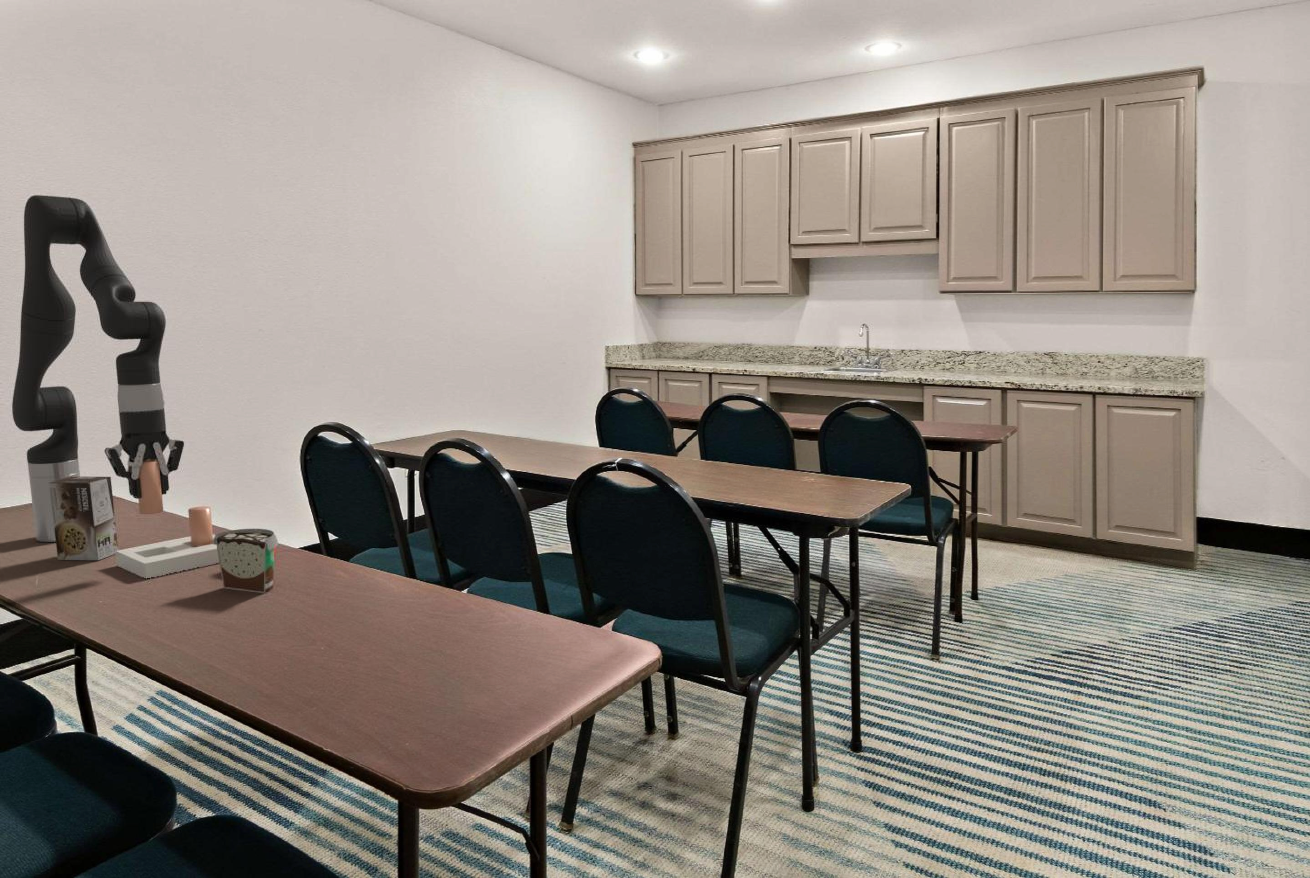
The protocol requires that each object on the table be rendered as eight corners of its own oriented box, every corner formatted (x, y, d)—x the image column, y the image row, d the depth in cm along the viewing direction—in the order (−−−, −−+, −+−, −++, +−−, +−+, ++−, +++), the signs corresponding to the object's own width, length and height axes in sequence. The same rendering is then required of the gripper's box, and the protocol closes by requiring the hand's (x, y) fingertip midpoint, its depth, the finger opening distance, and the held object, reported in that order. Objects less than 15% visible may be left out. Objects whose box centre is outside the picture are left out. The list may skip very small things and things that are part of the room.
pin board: (117, 565, 175) (112, 516, 173) (210, 546, 189) (206, 500, 187) (146, 579, 166) (141, 526, 165) (241, 557, 180) (238, 509, 178)
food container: (296, 584, 163) (292, 530, 161) (271, 594, 157) (267, 539, 156) (242, 577, 167) (238, 525, 165) (217, 587, 161) (212, 533, 160)
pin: (136, 512, 172) (131, 461, 170) (158, 508, 175) (153, 458, 173) (144, 515, 169) (140, 463, 168) (167, 511, 172) (162, 460, 171)
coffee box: (120, 552, 184) (112, 476, 182) (98, 561, 178) (89, 482, 176) (79, 551, 185) (71, 475, 183) (55, 560, 179) (47, 481, 176)
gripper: (172, 403, 177) (179, 487, 180) (92, 409, 166) (101, 499, 169) (189, 405, 172) (196, 492, 175) (107, 412, 161) (117, 505, 164)
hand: (149, 495), depth 172 cm, fingers closed on pin, 4 cm apart
